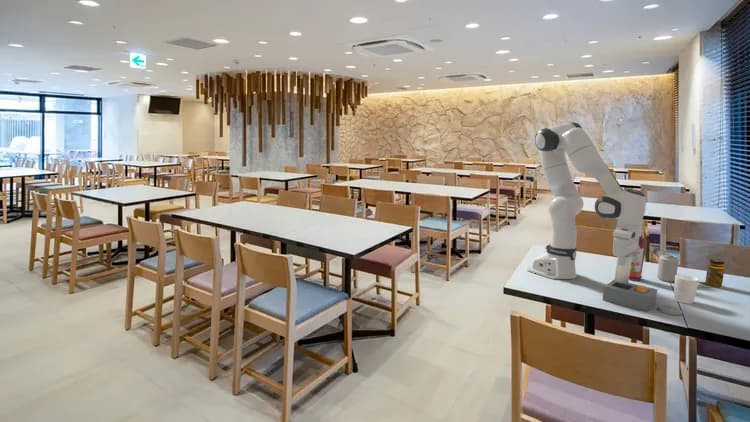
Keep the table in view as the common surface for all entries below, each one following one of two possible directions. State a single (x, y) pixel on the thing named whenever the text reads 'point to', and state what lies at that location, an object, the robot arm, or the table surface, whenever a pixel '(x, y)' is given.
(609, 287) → the housing
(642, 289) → the orange round ball
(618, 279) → the cartridge
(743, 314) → the table surface
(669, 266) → the can
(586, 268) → the table surface
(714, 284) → the condiment
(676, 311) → the coaster
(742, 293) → the table surface
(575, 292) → the table surface
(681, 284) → the white cup
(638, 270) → the liquor
